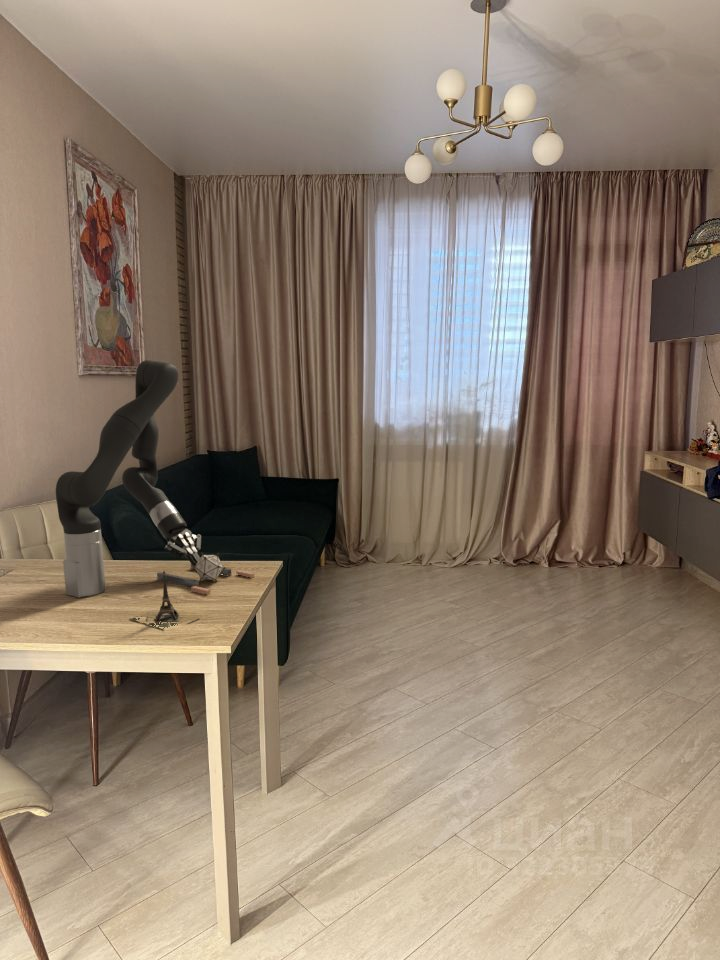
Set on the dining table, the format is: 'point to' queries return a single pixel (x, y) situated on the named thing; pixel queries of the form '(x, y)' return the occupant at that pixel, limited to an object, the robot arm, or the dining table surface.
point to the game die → (209, 567)
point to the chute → (186, 581)
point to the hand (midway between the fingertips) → (199, 565)
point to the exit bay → (207, 591)
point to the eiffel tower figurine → (164, 610)
